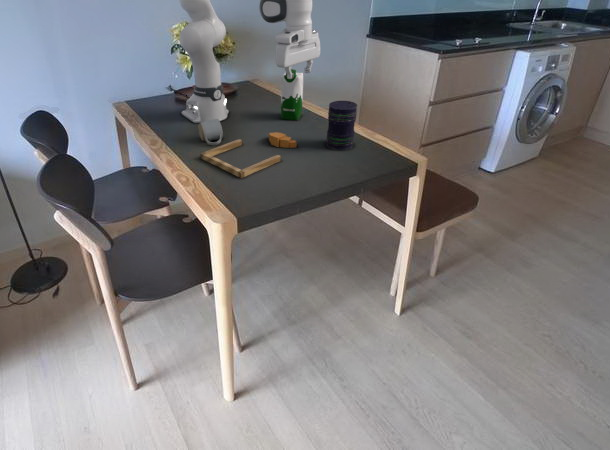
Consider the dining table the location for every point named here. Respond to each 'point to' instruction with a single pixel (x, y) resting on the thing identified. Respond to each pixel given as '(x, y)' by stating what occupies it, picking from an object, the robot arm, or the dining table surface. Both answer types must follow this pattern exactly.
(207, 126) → the ceramic mug
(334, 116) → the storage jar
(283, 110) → the milk carton
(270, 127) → the dining table surface
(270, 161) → the oak frame
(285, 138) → the orange block cluster
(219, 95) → the robot arm
